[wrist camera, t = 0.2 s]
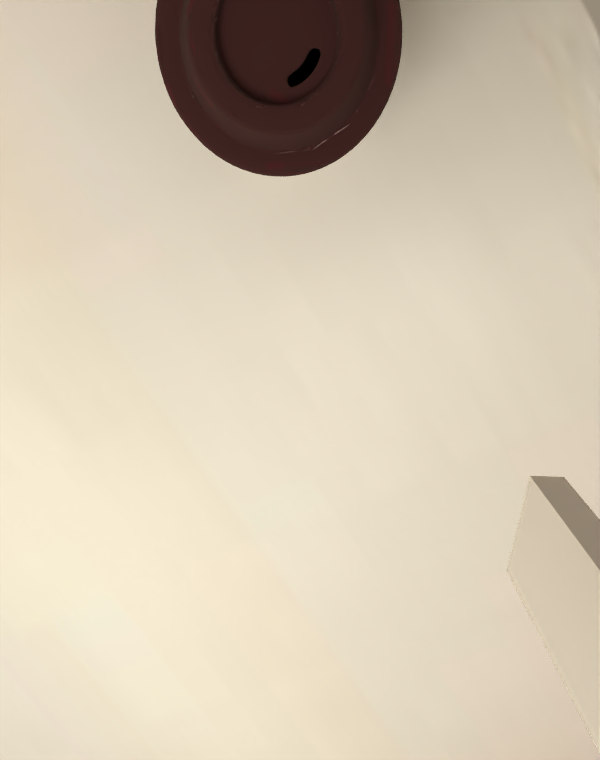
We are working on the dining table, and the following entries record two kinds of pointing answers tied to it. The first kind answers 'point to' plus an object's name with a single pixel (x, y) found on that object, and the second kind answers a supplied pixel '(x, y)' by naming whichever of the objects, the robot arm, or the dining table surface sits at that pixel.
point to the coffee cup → (279, 76)
